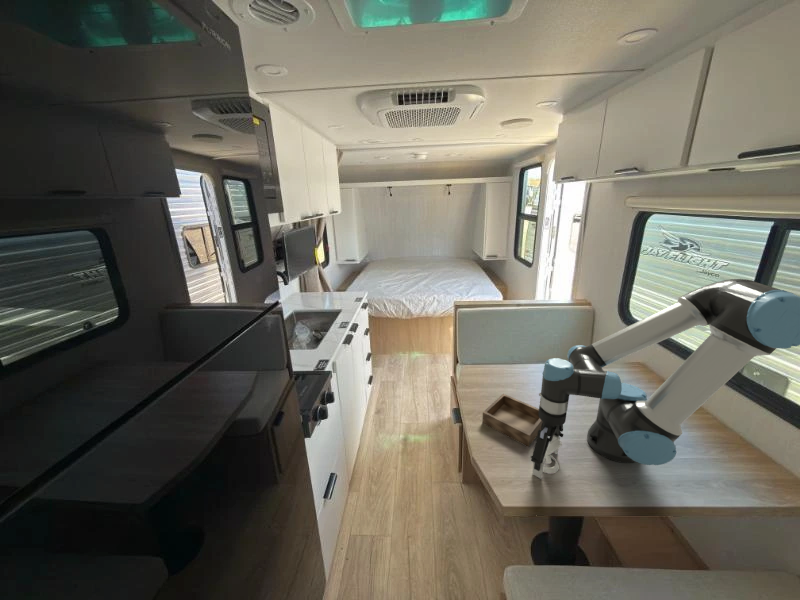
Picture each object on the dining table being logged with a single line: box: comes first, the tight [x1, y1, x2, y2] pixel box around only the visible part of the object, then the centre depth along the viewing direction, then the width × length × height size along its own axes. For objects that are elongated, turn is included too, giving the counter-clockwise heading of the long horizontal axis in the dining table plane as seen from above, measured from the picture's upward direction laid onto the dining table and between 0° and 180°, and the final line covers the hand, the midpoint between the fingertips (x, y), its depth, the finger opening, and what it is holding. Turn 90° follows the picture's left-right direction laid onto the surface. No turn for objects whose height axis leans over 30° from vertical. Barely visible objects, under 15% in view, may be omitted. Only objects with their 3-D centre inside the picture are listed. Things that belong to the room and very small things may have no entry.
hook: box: [532, 439, 563, 475], centre depth 98 cm, size 8×12×7 cm
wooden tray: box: [482, 393, 543, 448], centre depth 117 cm, size 18×16×5 cm
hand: (545, 463), depth 99 cm, fingers open, 12 cm apart
